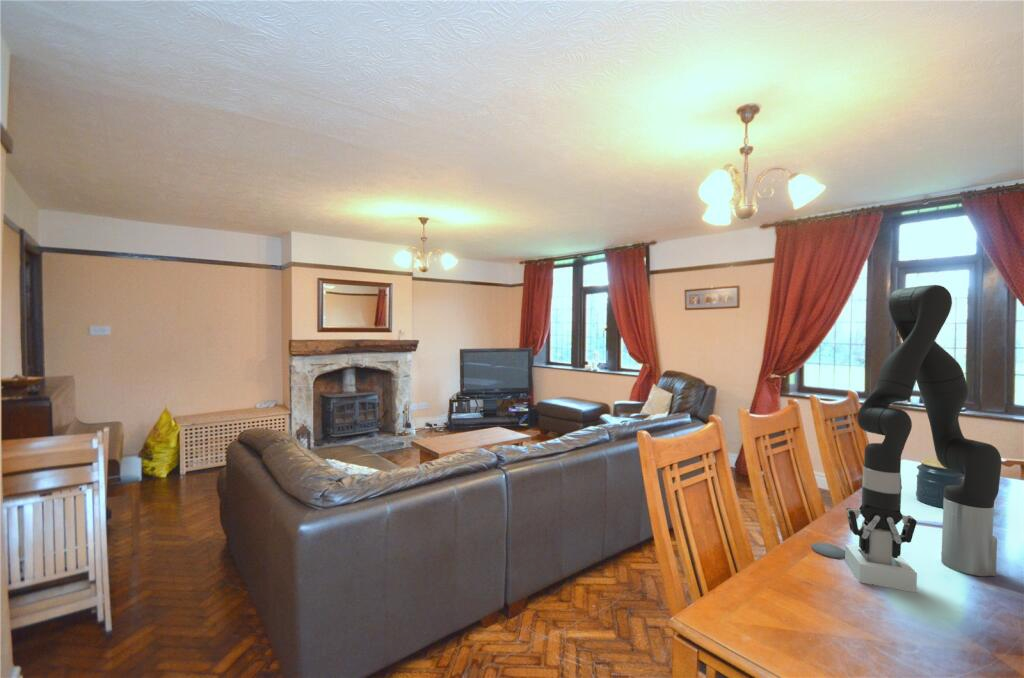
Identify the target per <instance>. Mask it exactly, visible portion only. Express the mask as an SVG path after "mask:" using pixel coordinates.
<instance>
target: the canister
mask: <svg viewBox="0 0 1024 678" xmlns="http://www.w3.org/2000/svg"><path fill="white" fill-rule="evenodd" d="M919 463H921V464H919V465H917V466H916V468H917V470H918V474H916V475H915V476H916V491H915V497H916V500H917V501H919V502H921V503H922V504H926V505H929V506H930V507H931V506H932V507H936V508H941V509H943V502H944V488H945V487H946V486H949V485H962V484H963V481H964V476H965V475H964V474H961V473H957V472H954V471H951V470H949V469H946V468H945V467H943V466H942V465H941V464H940V462H939V461H938V458H937V456H936V457H925V458H924V459H920V460H919Z"/></svg>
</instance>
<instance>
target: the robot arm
mask: <svg viewBox="0 0 1024 678" xmlns="http://www.w3.org/2000/svg"><path fill="white" fill-rule="evenodd" d="M952 307H953V298H952V295H951V293H950V290H948V289H947V288H946V287H945V286H943V285H938V284H930V285H929V284H928V285H920V286H919V285H918V286H912V287H905V288H904V287H903V288H899V289H896V290H894V291H892V292H891V294H890V296H889V298H888V311H889V315H890V317H891V319H892V321H893V324H894V326H895V328H896V330H897V332H898V334H899V336H900V339H901V340H902V343H900V345H898V346H897V347H896V348H895V349H894V350H893V351H892V352H891V354H889V356H888V357H887V358H886V359H885V361H884V363H883V364H882V367H881V370H880V373H879V376H878V379H877V382H876V385H875V387H874V389H872V391H871V392H870V393H869V395H868V397H867V398H866V399H865V401H863V403H862V404H861V406H860V408H859V409H858V412H857V414H856V415H857V416H856V417H857V418H856V420H857V424H858V426H859V428H860V429H861V430H862V431H864V432H866V433H871V434H876V435H880V436H884V438H883V441H882V442H871V443H870V442H869V443H868V444H866V445H865V448H864V458H863V459H864V462H863V470H862V479H861V480H862V484H861V487H862V488H861V505H860V507H859V508H851V507H846V509H845V511H846V516H847V520H848V525H849V530H850V531H851V532H852V533H853V535H855V536H858V546H859V547H860V549H861V550H862V551H863V552H864V553H866V554H868V541H869V540H868V539H867V538H868V536H869V534H870V532H872V531H873V529H874V528H883V529H887V530H890V531H891V533H892V557H893V558H898V556H901V551H902V550H901V549H902V544H903V543H911V542H912V539H913V536H914V532H915V529H916V526H917V523H918V522H917V520H916V519H915V518H914V517H913V516H911V515H904V514H902V512H901V507H902V505H901V504H902V489H903V486H902V485H903V484H902V475H901V467H902V465H901V463H902V462H901V461H902V454H903V452H904V448H905V445H906V444H907V441H908V438H909V436H910V434H911V431H912V427H913V422H912V419H911V417H910V415H909V413H908V412H906V411H905V410H903V409H901V408H895V407H889V406H890V405H891V404H893V403H896V402H897V403H898V402H906V401H908V400H909V399H911V397H912V394H913V391H914V388H915V386H916V384H917V386H918V390H919V393H920V395H921V398H922V401H923V403H924V404H923V405H924V407H925V411H926V414H927V419H928V422H929V425H930V430H931V436H932V442H933V447H934V451H935V455H936V457H937V458H938V461H939V462H940V464H941V465H942V466H943V467H945V468H946V469H949V470H951V471H954V472H957V473H961V474H964V475H965V476H964V481H963V484H962V485H949V486H946V487H945V488H944V502H943V508H942V510H943V511H942V528H941V529H942V531H941V532H942V533H941V534H942V535H941V552H940V553H941V554H940V555H941V556H940V557H941V563H942V564H943V565H945V566H946V567H948V568H950V569H953V570H955V571H958V572H960V573H964V574H968V575H972V576H978V577H991V576H992V577H997V559H998V558H997V557H998V555H997V554H998V538H997V537H996V536H994V535H993V533H994V512H995V500H996V498H997V496H998V495H999V491H1000V489H999V488H1000V481H1001V479H1000V478H1001V473H1002V457H1001V454H1000V452H999V449H997V447H995V446H994V445H992V444H990V443H987V442H982V441H977V440H974V439H970V438H969V439H968V438H966V437H965V436H964V434H963V431H962V429H961V426H960V422H959V421H960V420H959V416H960V414H961V411H962V409H963V407H964V406H965V403H967V400H968V396H969V387H968V383H967V380H966V377H965V374H964V370H963V369H962V366H961V365H960V364H959V362H958V361H957V360H956V359H955V358H954V357H953V356H952V355H951V354H950V353H949V352H947V351H946V350H945V349H944V348H943V347H942V346H941V345H940V344H938V342H937V341H936V339H937V337H938V335H939V333H940V331H941V330H942V328H943V326H944V324H945V323H946V321H947V319H948V317H949V315H950V313H951V310H952ZM860 515H861V516H862V517H863V520H862V523H861V526H860V528H859V526H858V521H857V520H858V519H859V517H860ZM901 521H902V523H903V525H902V526H903V527H902V529H901V533H900V534H899V530H898V528H897V526H896V525H898V524H899V523H900V522H901Z"/></svg>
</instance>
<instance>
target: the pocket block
mask: <svg viewBox="0 0 1024 678" xmlns="http://www.w3.org/2000/svg"><path fill="white" fill-rule="evenodd" d="M844 546H845V549H844V550H845V558H844V562H845V564H846V565H847V567H848V568H849V569H850V571H851V572H852V574H853V573H854V574H853V576H856V577H855V578H856V579H857V581H858V583H860V582H861V583H862V584H866V583H867V585H872V584H874V585H873V586H877V585H878V587H883V586H884V588H889V587H890V589H894V588H895V589H894V590H901V591H906V592H911V593H917V585H918V584H917V582H918V581H917V579H918V573H917V572H916V571H915V570H914V569H913V567H912V566H911V565H909V563H907V561H906V560H905V559H904V558H903V557H902V556H901V555H900V556H898V558H893V557H892V563H891V566H890V565H884V564H878V563H872V562H867V554H866V553H864V552H863V551H862V550H861V549H860V547H859V545H852V544H846V543H845V545H844Z"/></svg>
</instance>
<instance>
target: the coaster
mask: <svg viewBox="0 0 1024 678" xmlns="http://www.w3.org/2000/svg"><path fill="white" fill-rule="evenodd" d="M811 550H812V551H813V552H815V553H816V554H818V555H821V556H823V557H826V558H830V559H835V560H843V559H844V560H845V549H843V548H841V547H840V546H838V545H833V544H831V543H828V542H827V543H826V542H814V543H812V544H811Z"/></svg>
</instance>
